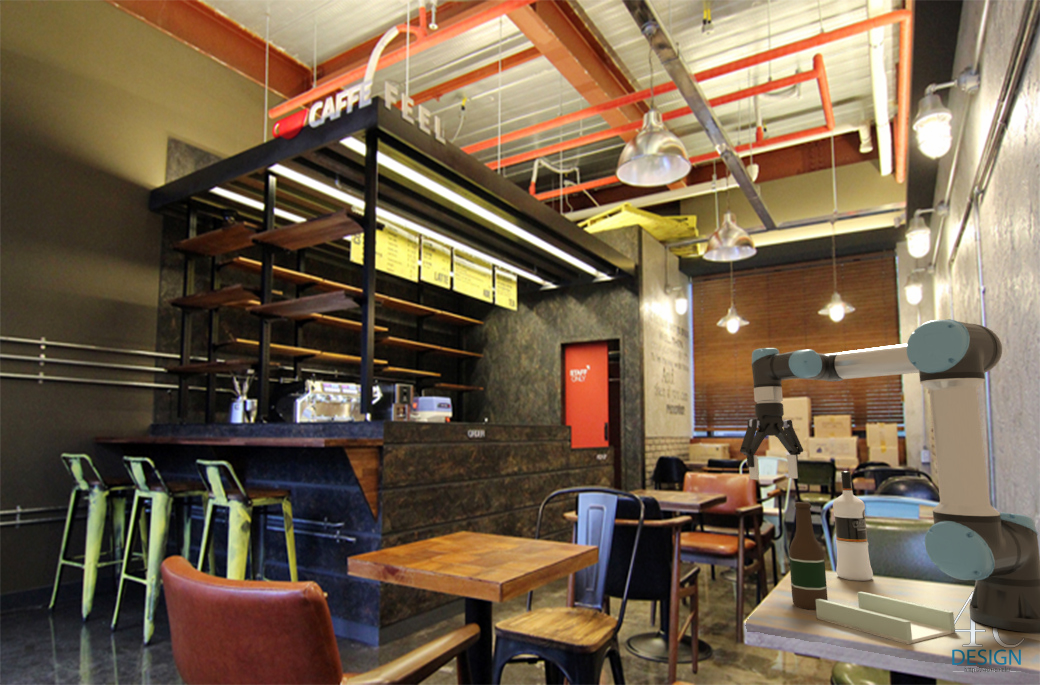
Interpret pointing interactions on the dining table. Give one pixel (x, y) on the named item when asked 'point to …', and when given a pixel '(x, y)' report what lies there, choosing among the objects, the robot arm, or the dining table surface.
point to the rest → (889, 618)
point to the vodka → (851, 534)
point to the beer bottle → (806, 562)
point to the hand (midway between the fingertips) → (774, 478)
